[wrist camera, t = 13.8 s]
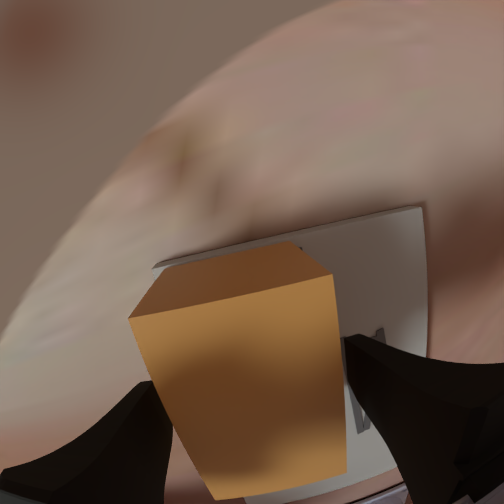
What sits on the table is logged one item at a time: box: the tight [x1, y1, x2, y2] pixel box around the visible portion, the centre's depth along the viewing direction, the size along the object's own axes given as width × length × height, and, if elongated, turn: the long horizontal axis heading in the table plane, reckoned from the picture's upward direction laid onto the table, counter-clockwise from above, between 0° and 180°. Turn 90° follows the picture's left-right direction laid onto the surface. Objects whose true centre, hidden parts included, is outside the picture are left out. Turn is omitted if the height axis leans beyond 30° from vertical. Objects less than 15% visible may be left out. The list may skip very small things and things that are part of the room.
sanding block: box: [128, 241, 347, 500], centre depth 10 cm, size 8×5×5 cm, turn 12°
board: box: [152, 206, 428, 504], centre depth 14 cm, size 18×12×1 cm, turn 12°
